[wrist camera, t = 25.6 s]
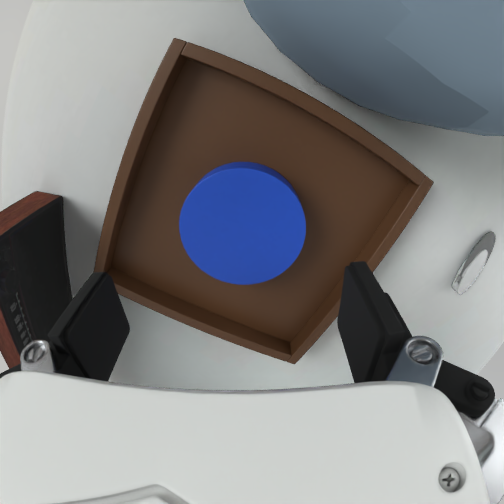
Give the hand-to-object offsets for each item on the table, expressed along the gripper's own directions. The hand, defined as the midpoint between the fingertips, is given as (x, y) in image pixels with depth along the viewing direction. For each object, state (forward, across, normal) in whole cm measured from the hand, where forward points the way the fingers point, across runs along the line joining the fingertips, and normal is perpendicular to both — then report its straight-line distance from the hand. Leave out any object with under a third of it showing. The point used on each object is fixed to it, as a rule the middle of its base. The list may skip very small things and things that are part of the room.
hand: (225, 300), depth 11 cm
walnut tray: (+8, -1, 0) cm, 8 cm away
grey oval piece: (+8, -19, +4) cm, 21 cm away
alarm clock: (+8, -10, -16) cm, 21 cm away
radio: (+9, +16, +4) cm, 19 cm away
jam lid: (+6, 0, 0) cm, 6 cm away
